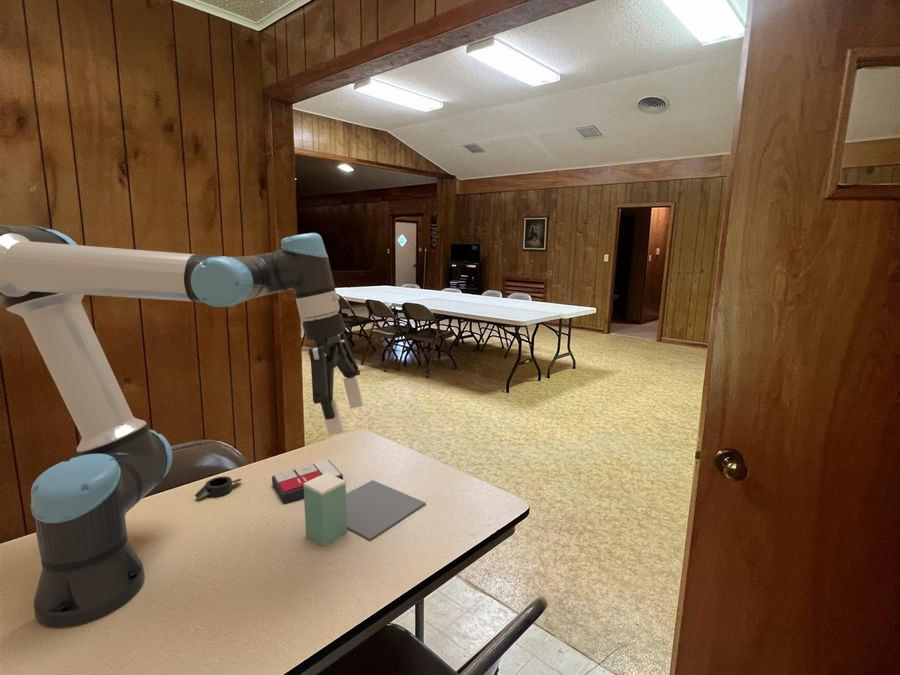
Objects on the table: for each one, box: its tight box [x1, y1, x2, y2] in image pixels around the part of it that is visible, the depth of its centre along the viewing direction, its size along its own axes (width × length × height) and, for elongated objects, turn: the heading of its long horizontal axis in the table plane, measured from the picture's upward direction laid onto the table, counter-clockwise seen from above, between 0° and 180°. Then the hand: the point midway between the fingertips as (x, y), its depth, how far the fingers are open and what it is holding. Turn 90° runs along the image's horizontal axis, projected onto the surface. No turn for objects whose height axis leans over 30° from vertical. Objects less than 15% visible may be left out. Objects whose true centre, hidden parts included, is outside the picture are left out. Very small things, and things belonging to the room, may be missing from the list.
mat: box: [346, 479, 427, 542], centre depth 109 cm, size 18×18×1 cm
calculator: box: [271, 459, 344, 505], centre depth 118 cm, size 11×4×15 cm
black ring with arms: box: [194, 476, 243, 500], centre depth 115 cm, size 8×10×3 cm
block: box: [303, 473, 348, 548], centre depth 98 cm, size 6×6×12 cm
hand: (347, 419), depth 93 cm, fingers open, 13 cm apart
